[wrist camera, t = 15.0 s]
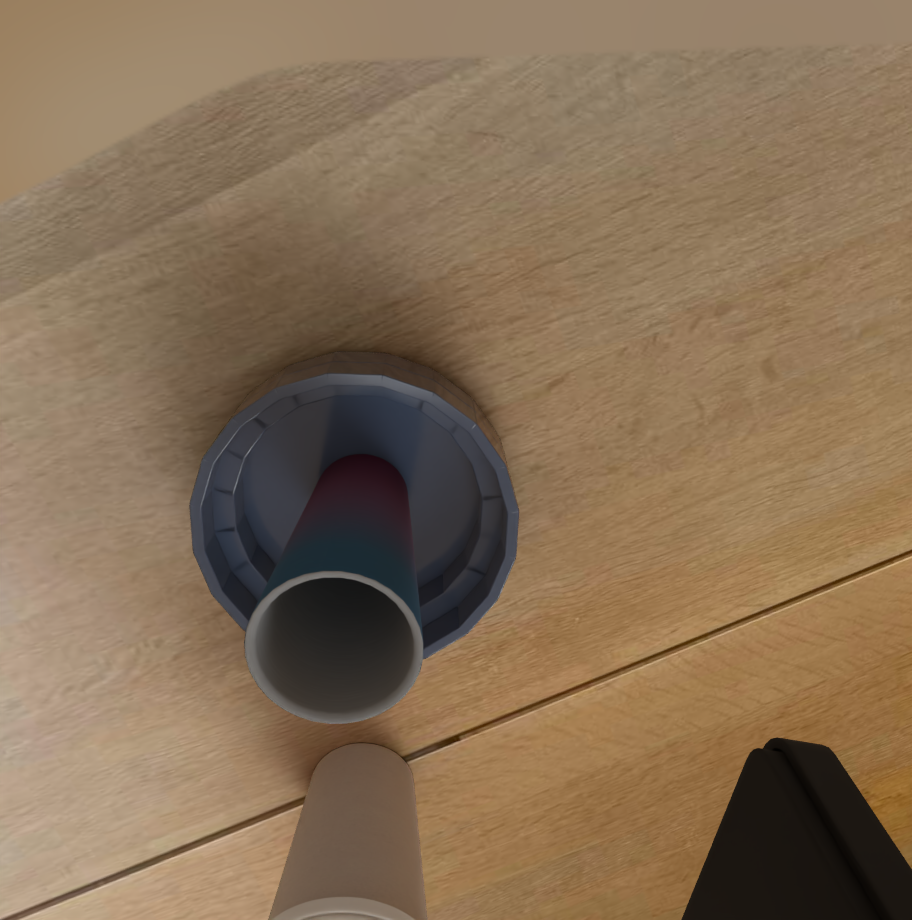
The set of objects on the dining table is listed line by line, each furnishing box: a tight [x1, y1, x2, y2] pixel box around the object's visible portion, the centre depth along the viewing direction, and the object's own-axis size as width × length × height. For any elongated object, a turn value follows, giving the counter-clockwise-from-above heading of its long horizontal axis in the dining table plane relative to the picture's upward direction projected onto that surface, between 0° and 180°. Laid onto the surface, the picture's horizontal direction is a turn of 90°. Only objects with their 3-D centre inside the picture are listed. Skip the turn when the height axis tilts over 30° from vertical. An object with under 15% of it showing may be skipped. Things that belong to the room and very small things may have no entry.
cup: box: [244, 454, 423, 724], centre depth 39 cm, size 7×7×15 cm
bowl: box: [189, 352, 519, 659], centre depth 45 cm, size 16×16×5 cm
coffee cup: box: [268, 743, 428, 920], centre depth 47 cm, size 10×10×15 cm
